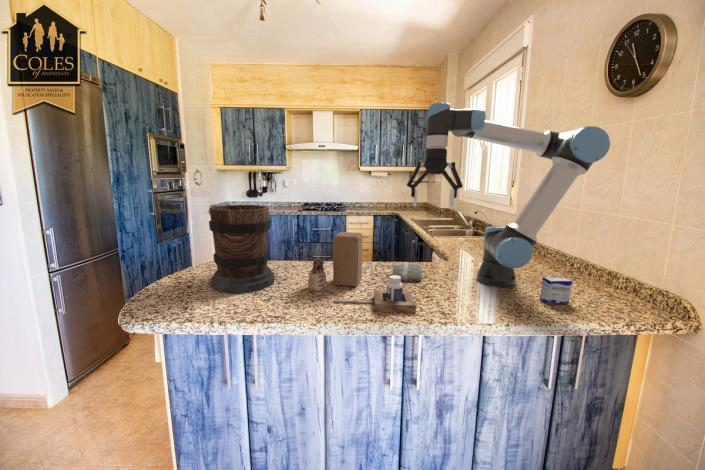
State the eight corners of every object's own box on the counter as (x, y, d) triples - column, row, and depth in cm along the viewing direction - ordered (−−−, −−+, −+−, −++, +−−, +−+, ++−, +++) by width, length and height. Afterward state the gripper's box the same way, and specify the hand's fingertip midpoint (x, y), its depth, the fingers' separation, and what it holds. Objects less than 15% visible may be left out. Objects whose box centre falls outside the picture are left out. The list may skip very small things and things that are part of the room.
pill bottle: (403, 302, 112) (404, 275, 110) (400, 308, 107) (401, 280, 105) (387, 300, 114) (388, 273, 112) (384, 306, 109) (385, 278, 107)
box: (547, 304, 112) (550, 281, 111) (539, 299, 117) (542, 276, 115) (569, 304, 113) (572, 280, 111) (560, 299, 117) (563, 276, 116)
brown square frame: (410, 297, 117) (410, 291, 116) (415, 312, 104) (416, 305, 103) (335, 295, 118) (335, 288, 117) (331, 310, 105) (331, 302, 104)
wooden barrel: (204, 294, 116) (198, 211, 111) (221, 270, 145) (217, 203, 139) (272, 291, 121) (270, 210, 115) (276, 268, 149) (274, 203, 144)
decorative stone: (422, 276, 142) (422, 262, 141) (421, 283, 133) (422, 269, 132) (392, 273, 145) (392, 260, 144) (389, 280, 136) (389, 266, 135)
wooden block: (357, 287, 126) (358, 237, 122) (332, 285, 128) (332, 235, 124) (361, 279, 136) (362, 232, 132) (338, 277, 138) (339, 231, 134)
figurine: (330, 287, 126) (330, 257, 124) (321, 293, 120) (320, 261, 118) (314, 284, 129) (314, 255, 127) (304, 289, 123) (304, 259, 121)
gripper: (468, 149, 122) (463, 206, 126) (401, 148, 123) (398, 204, 127) (474, 148, 114) (469, 208, 118) (403, 147, 116) (400, 206, 119)
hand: (433, 206), depth 123 cm, fingers open, 13 cm apart
